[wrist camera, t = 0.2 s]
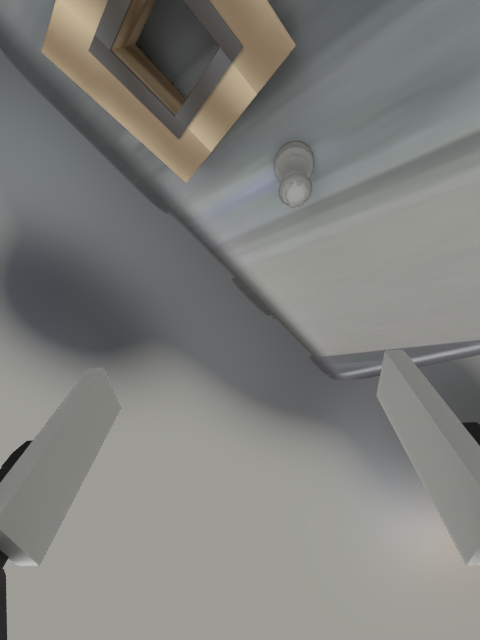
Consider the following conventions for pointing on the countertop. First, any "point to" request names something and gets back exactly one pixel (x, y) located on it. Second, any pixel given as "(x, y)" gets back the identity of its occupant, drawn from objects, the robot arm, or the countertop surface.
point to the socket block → (152, 86)
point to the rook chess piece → (294, 173)
